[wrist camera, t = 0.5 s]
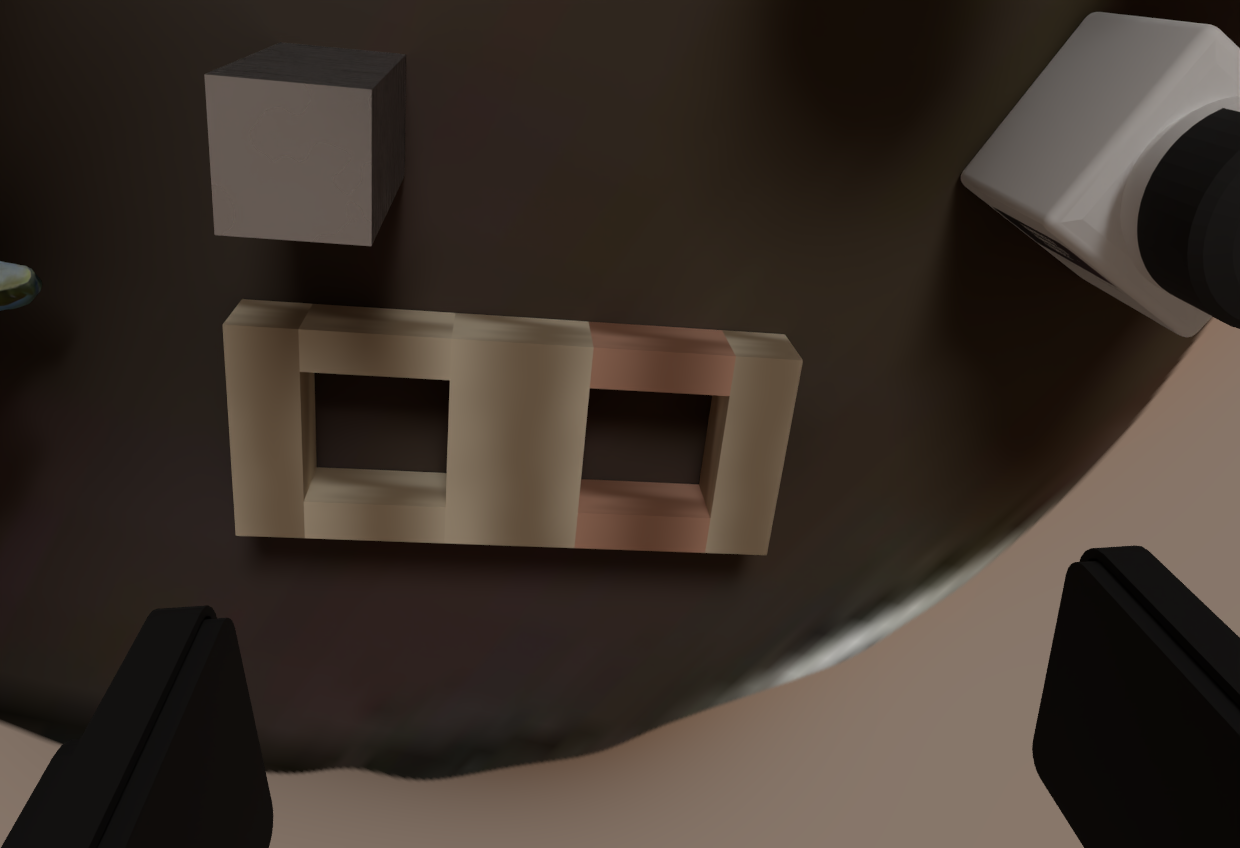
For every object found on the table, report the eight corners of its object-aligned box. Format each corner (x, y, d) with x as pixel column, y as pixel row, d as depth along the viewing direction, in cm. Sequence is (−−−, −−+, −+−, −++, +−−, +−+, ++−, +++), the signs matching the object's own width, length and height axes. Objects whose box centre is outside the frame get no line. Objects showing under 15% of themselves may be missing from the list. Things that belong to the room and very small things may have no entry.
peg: (284, 166, 38) (215, 235, 29) (280, 42, 37) (204, 74, 28) (404, 176, 39) (371, 246, 30) (405, 54, 37) (371, 89, 28)
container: (1083, 280, 43) (1294, 404, 32) (952, 177, 41) (1129, 271, 29) (1219, 124, 41) (1501, 196, 29) (1089, 6, 39) (1340, 33, 27)
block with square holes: (252, 499, 44) (235, 535, 41) (242, 299, 40) (222, 324, 38) (752, 519, 47) (766, 555, 44) (784, 334, 43) (802, 360, 40)
